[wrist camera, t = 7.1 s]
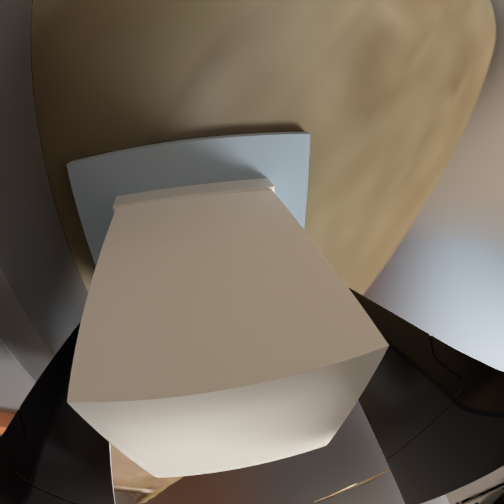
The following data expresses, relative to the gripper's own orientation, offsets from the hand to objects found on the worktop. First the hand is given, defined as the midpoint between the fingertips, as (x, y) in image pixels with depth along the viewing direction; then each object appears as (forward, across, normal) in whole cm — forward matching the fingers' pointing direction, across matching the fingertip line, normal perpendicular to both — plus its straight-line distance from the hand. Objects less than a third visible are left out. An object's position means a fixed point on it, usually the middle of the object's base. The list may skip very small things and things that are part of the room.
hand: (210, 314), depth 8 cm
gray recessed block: (+4, +9, -5) cm, 12 cm away
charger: (+3, 0, 0) cm, 3 cm away
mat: (+4, 0, 0) cm, 4 cm away
